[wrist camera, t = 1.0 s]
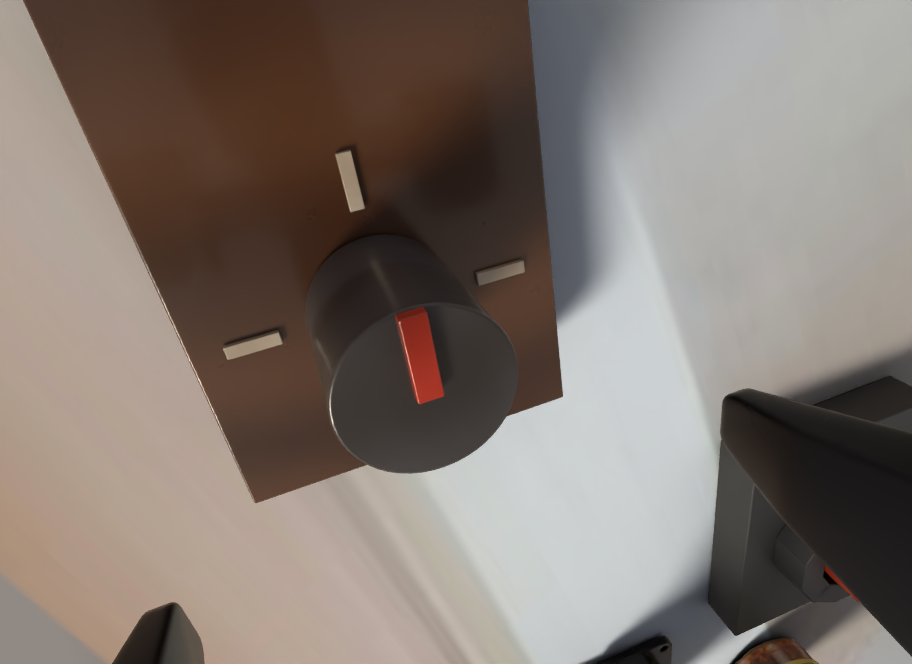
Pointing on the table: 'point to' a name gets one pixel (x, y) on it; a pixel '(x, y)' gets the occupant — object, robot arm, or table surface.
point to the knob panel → (311, 180)
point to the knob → (406, 356)
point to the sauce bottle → (777, 653)
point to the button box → (780, 528)
